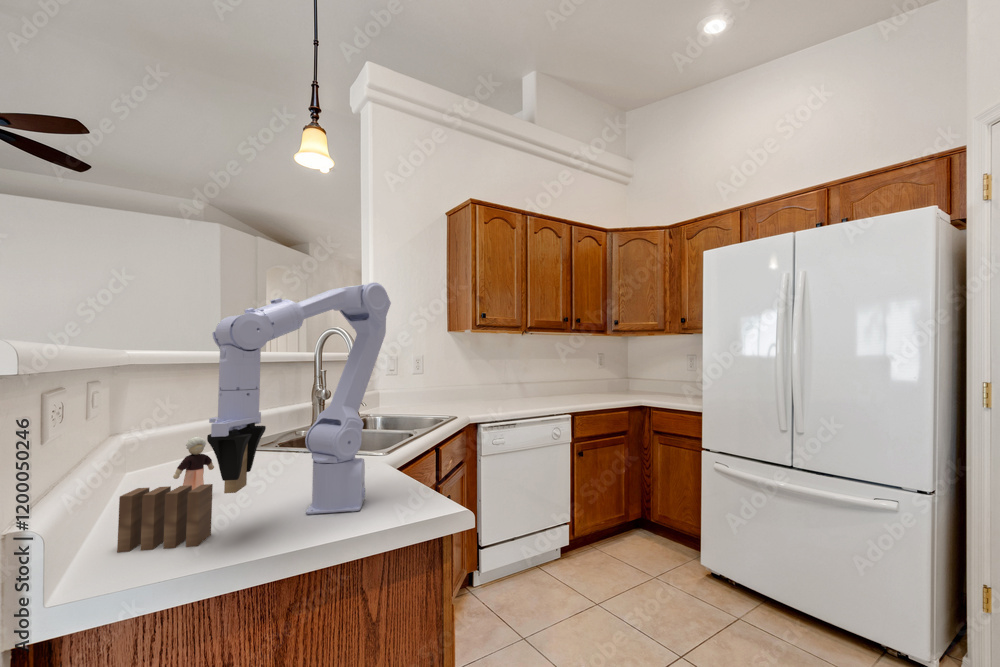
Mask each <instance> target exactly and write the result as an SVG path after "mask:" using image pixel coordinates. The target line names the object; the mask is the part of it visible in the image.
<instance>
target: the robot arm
mask: <svg viewBox="0 0 1000 667" xmlns="http://www.w3.org/2000/svg"><path fill="white" fill-rule="evenodd" d="M391 304H392V302H391V300H390V298H389V295H388V292H387V290H386V288H385V287H384V286H383V285H382V284H380V283H378V282H370V283H367V284H359V285H351V286H344V287H338V288H333V289H332V288H330V289H328V290H327V291H323V292H321V293H318V294H315V295H313V296H310V297H307V298H305V299H304V300H301V301H298V302H295V301H294V300H291V299H287V298H286V299H285V298H284V299H282V297H277V298H274V299H271V300H270V303H269V304H266V305H264V306H261V307H257V308H254V307H249V308H246V309H244V313H243V314H238V315H230V316H226V317H225V318H223V319H221V320H220V322H219V323H218V324H217V325H216V328H215V331H213V332H212V339H213V341H214V343H215V344H216V345H217V347H218V348H219V363H218V398H217V399H218V400H217V416H215V417H211V418H209V421H208V422H209V423H210V424H211V428H210V429H211V430H210V432H211V433H209V434H208V435H207V438H206V442H207V443H208V444H209V445H210V447H211V449H212V451H213V452H214V454H215V457H216V461H217V465H218V468H219V471H220V472H219V473H220V475H221V479H222V481H223V482H225V481H227V480H238V479H239V476H240V473H241V468H242V461H243V456H244V452H245V449H246V446H247V443H248V447H247V473H250V472H251V470H252V467H253V464H254V461H255V456H256V454H257V449H258V446H259V443H260V441H261V439H262V436H263V435H264V433H265V432H266V428H267V427H266V425H256V424H261V423H262V412H261V411H260V399H261V398H260V394H261V393H260V392H261V389H260V388H261V386H260V385H261V356H262V355H261V353H262V352H261V349H262V348H263V347H265V345H267V342H269V341H272V340H275V339H277V338H279V337H282V336H285V335H287V334H289V333H292V332H294V331H297V330H300V329H301V327H302V326H303V323H304V320H306V319H308V318H312V317H314V316H318V315H320V314H324V313H326V312H330V311H332V310H334V311H337V312H338V311H339V312H340V313H341V315H342V316H343V318H344V319H345V320H346V322H348V323H349V325H350V327H352V329H354V331H355V333H356V336H355V339H354V342H353V344H352V346H351V349H350V352H349V354H348V357H347V360H346V363H345V365H344V368H343V370H342V372H341V376H340V378H339V381H338V383H337V386H336V389H335V391H334V394H333V397H332V399H331V402H330V405H329V406H327V407H326V408H325V409H323V411H321V412H320V413H319V414H318V416H317V419H316V421H314V423H313V425H311V426H310V427H309V429H308V430H307V432H306V434H305V439H304V441H305V447H306V449H307V450H308V452H309V453H311V459H312V487H311V489H312V490H311V492H312V494H311V495H312V496H311V498H312V500H311V504H310V505H309V507H308V508H307V509H306V510H305V514H306V515H312V514H313V515H315V514H328V513H343V512H356V511H357V512H358V511H360V510H361V509H362V507H363V504H364V501H365V499H366V485H365V484H366V483H365V482H366V481H365V480H366V478H365V474H366V468H365V465H366V462H365V458H363V457H356V455H357V453H359V451H360V449H361V446H362V442H363V440H362V439H363V437H362V432H363V429H364V425H365V423H364V420H362V417H361V416H360V414H359V411H360V407H361V406H362V402H363V399H364V396H365V393H366V390H367V388H368V385H369V382H370V379H371V376H372V374H373V371H374V368H375V366H376V363H377V359H378V357H379V354H380V351H381V348H382V346H383V342H384V339H385V337H386V334H387V316H388V312H389V311H390V310H389V309H390V307H391Z"/></svg>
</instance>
